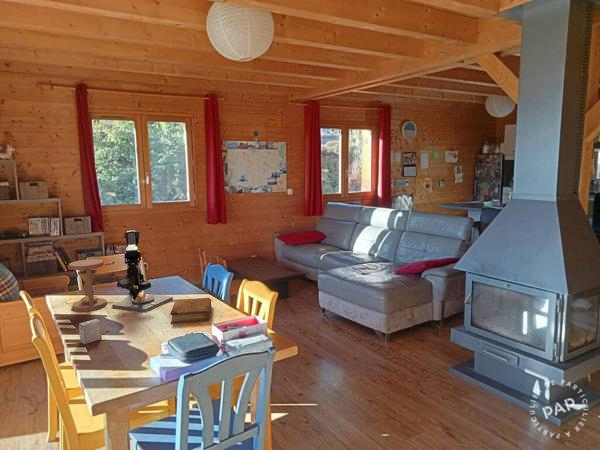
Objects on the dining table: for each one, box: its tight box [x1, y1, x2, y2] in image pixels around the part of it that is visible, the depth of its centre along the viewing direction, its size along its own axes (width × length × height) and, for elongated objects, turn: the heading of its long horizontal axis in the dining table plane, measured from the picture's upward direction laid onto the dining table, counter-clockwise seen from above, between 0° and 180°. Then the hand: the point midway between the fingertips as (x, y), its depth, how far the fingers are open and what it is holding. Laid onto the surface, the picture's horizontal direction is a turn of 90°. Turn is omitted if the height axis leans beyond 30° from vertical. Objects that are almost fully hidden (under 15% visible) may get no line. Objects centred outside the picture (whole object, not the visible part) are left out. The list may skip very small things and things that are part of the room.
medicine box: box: [78, 318, 103, 345], centre depth 196 cm, size 8×4×9 cm, turn 141°
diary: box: [169, 297, 212, 325], centre depth 228 cm, size 23×19×6 cm
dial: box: [131, 290, 155, 304], centre depth 246 cm, size 17×12×5 cm
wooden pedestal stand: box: [68, 258, 108, 312], centre depth 243 cm, size 18×18×25 cm
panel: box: [111, 294, 174, 313], centre depth 249 cm, size 23×23×2 cm
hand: (134, 299), depth 240 cm, fingers closed
